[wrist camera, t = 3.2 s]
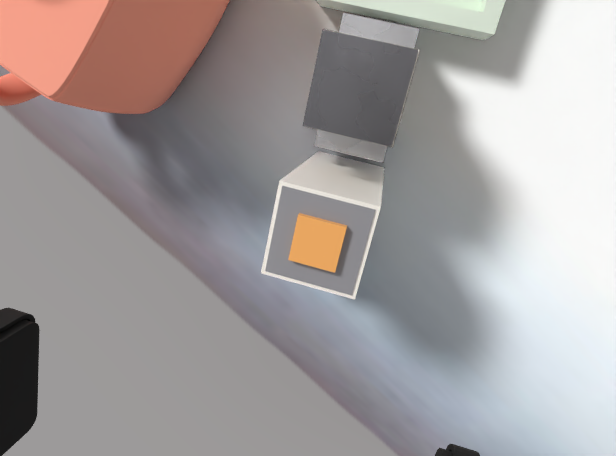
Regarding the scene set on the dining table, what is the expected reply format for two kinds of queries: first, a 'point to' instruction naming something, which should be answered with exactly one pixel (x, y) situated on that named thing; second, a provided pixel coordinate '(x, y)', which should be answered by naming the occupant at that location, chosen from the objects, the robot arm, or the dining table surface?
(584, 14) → the dining table surface
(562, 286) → the dining table surface
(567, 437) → the dining table surface
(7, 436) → the robot arm
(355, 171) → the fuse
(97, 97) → the teapot
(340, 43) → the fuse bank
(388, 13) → the tray
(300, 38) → the dining table surface
